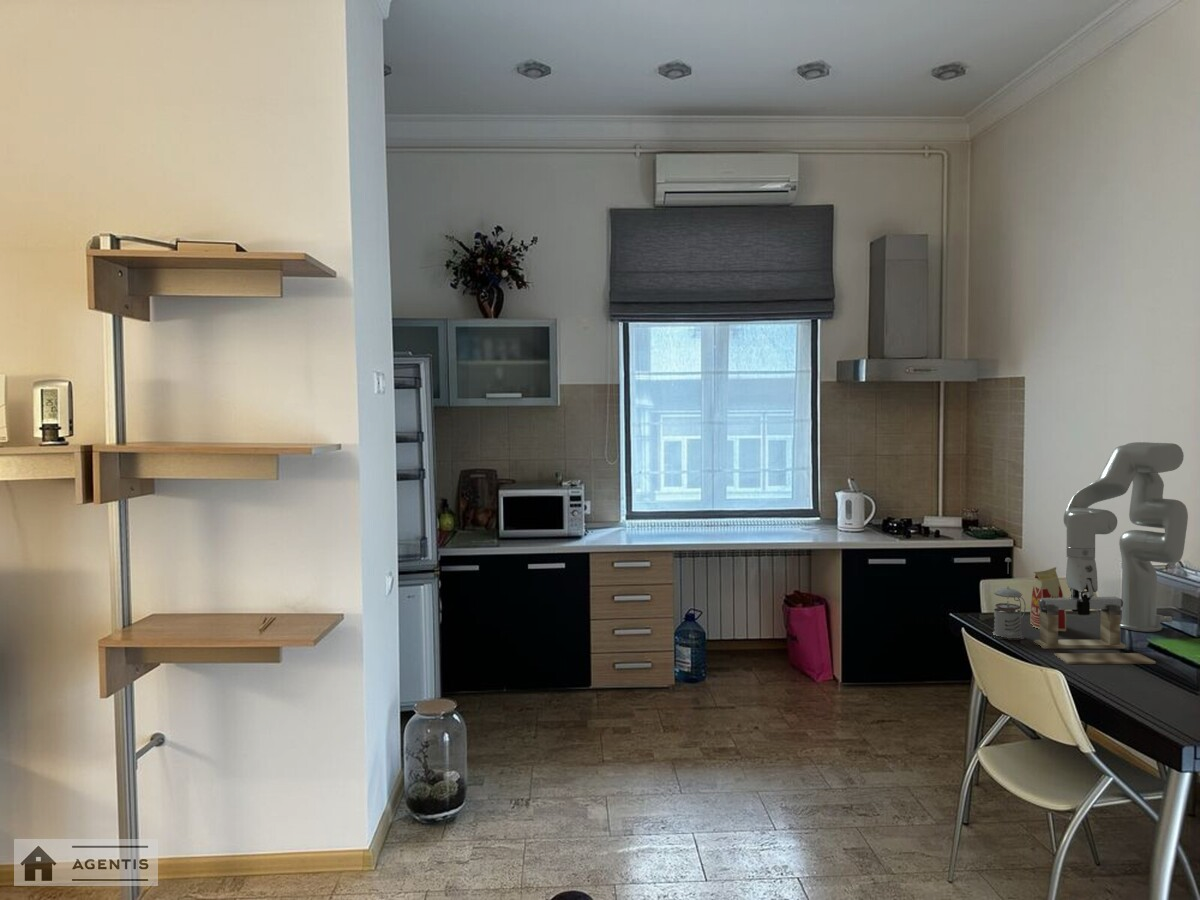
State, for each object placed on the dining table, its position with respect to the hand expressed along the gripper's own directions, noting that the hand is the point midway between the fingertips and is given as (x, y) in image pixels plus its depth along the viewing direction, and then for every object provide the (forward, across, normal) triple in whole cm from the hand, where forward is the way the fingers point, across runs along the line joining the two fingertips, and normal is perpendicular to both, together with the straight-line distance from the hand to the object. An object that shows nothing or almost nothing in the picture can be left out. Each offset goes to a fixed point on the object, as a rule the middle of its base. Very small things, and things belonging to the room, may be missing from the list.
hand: (1080, 612), depth 257 cm
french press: (+10, +11, +16) cm, 22 cm away
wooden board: (+10, -14, 0) cm, 17 cm away
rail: (-1, 0, 0) cm, 1 cm away
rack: (+10, 0, 0) cm, 10 cm away
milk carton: (+11, +21, 0) cm, 23 cm away
